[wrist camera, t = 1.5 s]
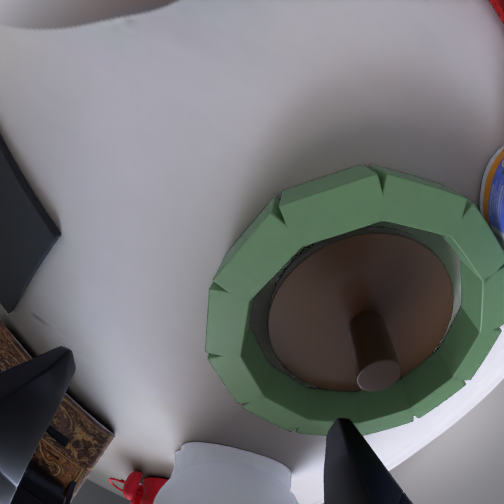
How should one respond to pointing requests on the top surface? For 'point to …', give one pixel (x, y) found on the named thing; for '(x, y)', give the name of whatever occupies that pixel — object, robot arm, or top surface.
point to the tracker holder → (498, 8)
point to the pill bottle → (494, 195)
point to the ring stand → (360, 310)
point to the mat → (20, 231)
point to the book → (62, 428)
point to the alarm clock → (140, 488)
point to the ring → (329, 225)
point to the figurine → (225, 477)
